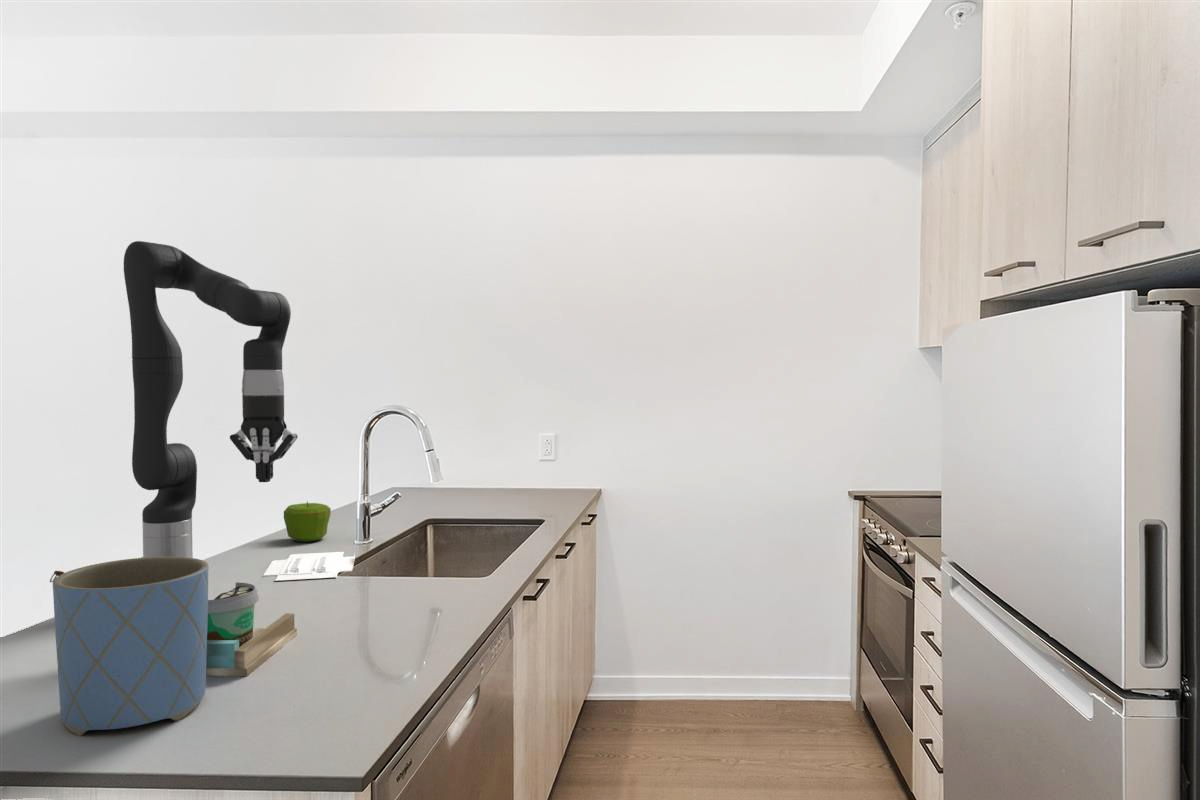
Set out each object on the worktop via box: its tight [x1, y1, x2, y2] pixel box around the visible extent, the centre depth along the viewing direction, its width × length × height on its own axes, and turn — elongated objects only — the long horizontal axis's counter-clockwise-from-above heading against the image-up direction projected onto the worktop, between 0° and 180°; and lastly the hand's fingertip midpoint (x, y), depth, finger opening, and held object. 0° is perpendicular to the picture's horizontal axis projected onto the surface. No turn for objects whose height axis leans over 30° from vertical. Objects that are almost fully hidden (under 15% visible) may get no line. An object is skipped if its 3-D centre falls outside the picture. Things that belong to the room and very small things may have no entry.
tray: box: [262, 551, 356, 582], centre depth 200 cm, size 20×28×4 cm
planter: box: [52, 557, 209, 736], centre depth 114 cm, size 19×19×20 cm
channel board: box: [206, 612, 298, 677], centre depth 137 cm, size 12×20×5 cm, turn 179°
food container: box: [207, 581, 260, 647], centre depth 135 cm, size 12×6×10 cm, turn 178°
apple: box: [283, 501, 332, 543], centre depth 231 cm, size 12×12×11 cm
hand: (264, 481), depth 156 cm, fingers closed
